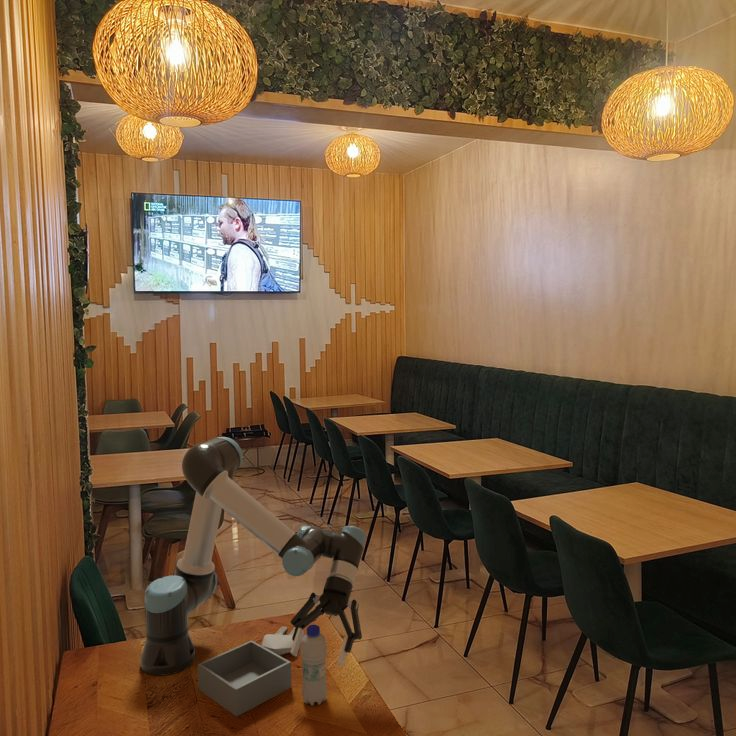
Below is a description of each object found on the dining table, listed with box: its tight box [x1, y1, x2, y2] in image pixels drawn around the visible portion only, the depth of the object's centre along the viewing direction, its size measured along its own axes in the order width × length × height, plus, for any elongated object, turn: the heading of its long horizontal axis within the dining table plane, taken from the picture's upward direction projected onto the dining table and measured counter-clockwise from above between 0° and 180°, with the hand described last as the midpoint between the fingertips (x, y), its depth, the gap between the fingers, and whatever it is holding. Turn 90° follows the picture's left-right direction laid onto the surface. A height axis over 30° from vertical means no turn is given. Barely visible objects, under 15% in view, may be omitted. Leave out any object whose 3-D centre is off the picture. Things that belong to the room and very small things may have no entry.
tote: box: [197, 639, 292, 717], centre depth 171 cm, size 18×18×7 cm
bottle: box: [300, 624, 328, 706], centre depth 164 cm, size 7×7×20 cm
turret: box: [261, 626, 295, 656], centre depth 195 cm, size 10×20×5 cm, turn 173°
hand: (316, 659), depth 164 cm, fingers open, 13 cm apart
